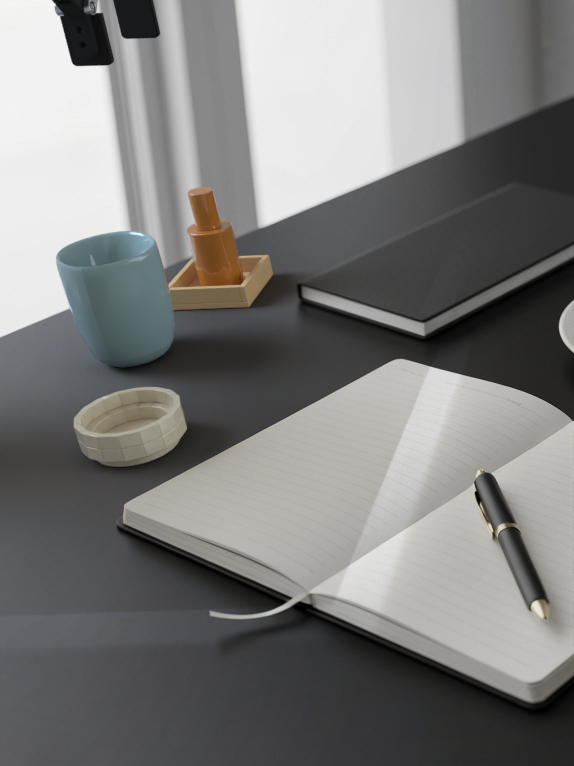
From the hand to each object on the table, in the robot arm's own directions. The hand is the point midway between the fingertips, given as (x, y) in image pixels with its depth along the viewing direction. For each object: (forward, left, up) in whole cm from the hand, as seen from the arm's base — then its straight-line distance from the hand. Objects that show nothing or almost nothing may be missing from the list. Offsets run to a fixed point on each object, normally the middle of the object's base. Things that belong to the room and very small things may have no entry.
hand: (118, 50), depth 106 cm
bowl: (+5, -24, -24) cm, 35 cm away
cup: (-1, -9, -24) cm, 26 cm away
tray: (+2, +4, -24) cm, 24 cm away
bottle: (+2, +4, -23) cm, 24 cm away
